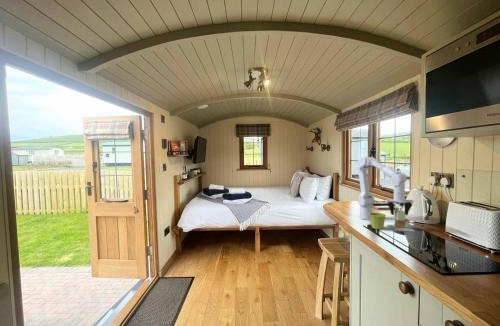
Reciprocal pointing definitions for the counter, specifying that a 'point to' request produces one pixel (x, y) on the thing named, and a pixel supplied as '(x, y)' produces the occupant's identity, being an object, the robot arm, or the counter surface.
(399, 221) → the walnut block
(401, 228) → the board
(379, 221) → the plant pot
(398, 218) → the sage block
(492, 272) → the counter surface
